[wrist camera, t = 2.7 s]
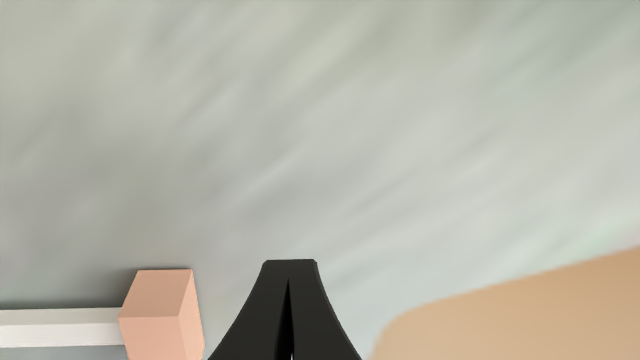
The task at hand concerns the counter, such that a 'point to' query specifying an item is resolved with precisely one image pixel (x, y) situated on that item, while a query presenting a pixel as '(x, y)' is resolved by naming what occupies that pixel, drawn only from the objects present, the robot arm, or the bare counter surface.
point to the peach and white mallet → (121, 321)
